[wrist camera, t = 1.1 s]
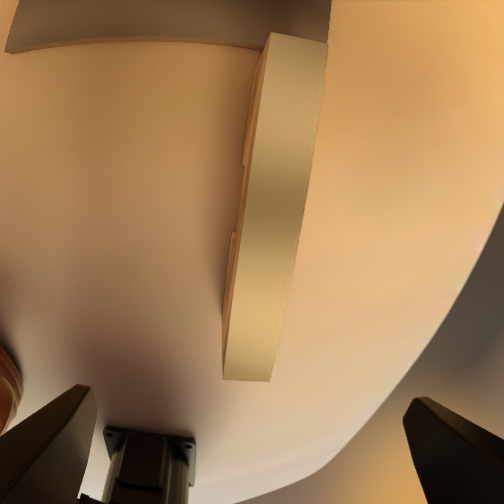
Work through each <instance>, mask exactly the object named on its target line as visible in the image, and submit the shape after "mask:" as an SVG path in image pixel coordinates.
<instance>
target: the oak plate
mask: <svg viewBox="0 0 504 504" xmlns="http://www.w3.org/2000/svg"><path fill="white" fill-rule="evenodd" d="M327 52H328V44H324V43H320V42H316V41H312V40H308V39H303V38H299V37H294V36H289V35H284V34H279V33H273V32H271V33H270V36H269V38H268V40H267V42H266V45H265V47H264V49H263V52H262V54H261V56H260V59H259V61H258V63H257V66H256V68H255V72H254V79H253V85H252V92H251V98H250V105H249V112H248V119H247V125H246V132H245V139H244V146H243V153H242V160H241V163H242V164H244V165H245V170H244V177H243V184H242V191H241V199H240V206H239V214H238V221H237V229H236V233H235V232H232V235H231V243H230V251H229V259H228V267H227V275H226V284H225V292H224V300H223V309H222V368H223V379H224V380H239V381H259V382H270V378H271V374H272V370H273V365H274V361H275V356H276V352H277V347H278V343H279V338H280V333H281V329H282V324H283V319H284V314H285V309H286V304H287V300H288V295H289V290H290V285H291V279H292V274H293V269H294V264H295V259H296V253H297V248H298V243H299V237H300V232H301V226H302V220H303V215H304V209H305V203H306V197H307V191H308V185H309V179H310V173H311V167H312V160H313V154H314V147H315V141H316V134H317V127H318V120H319V113H320V106H321V99H322V91H323V84H324V76H325V68H326V60H327Z"/></svg>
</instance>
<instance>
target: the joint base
mask: <svg viewBox="0 0 504 504" xmlns="http://www.w3.org/2000/svg"><path fill="white" fill-rule="evenodd" d="M331 1H332V0H20V1H19V4H18V7H17V10H16V13H15V16H14V19H13V22H12V25H11V29H10V32H9V36H8V39H7V43H6V47H5V51H4V52H7V53H10V54H16V53H21V52H26V51H32V50H38V49H44V48H50V47H58V46H66V45H75V44H85V43H98V42H116V41H175V42H193V43H207V44H217V45H227V46H235V47H243V48H250V49H257V50H263V49H264V47H265V45H266V42H267V40H268V38H269V36H270V33H271V32H273V33H279V34H284V35H289V36H294V37H299V38H303V39H308V40H312V41H316V42H320V43H324V44H327V39H328V30H329V21H330V11H331Z"/></svg>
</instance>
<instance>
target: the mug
mask: <svg viewBox="0 0 504 504" xmlns="http://www.w3.org/2000/svg"><path fill="white" fill-rule="evenodd" d="M22 396H23V384H22V379H21V376H20V373H19V371H18V369H17V367H16V365H15V363H14V362H13V360H12V358H11V357H10V355H9V354H8V353H7V351H6V350H5V349H4V348H3V346H2V345H1V344H0V436H1V435H3V434H4V433H5V432H6V431H7V429H8V427H9V425H10V424H11V422H12V421H13V420H14V418H15V417H16V414H17V409H18V407H19V404H20V401H21V399H22Z"/></svg>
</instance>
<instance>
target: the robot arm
mask: <svg viewBox="0 0 504 504" xmlns="http://www.w3.org/2000/svg"><path fill="white" fill-rule="evenodd" d="M96 418H97V406H96V402H95V397H94V392H93V389H92V387H90V386H87V385H82V384H76V385H74V386H73V387H72V388H70V389H69V390H67V391H66V392H64V393H63V394H61V395H60V396H58V397H57V398H56V399H54V400H53V401H51V402H50V403H48V404H47V405H45V406H44V407H42V408H41V409H39V410H38V411H37V412H35V413H34V414H32V415H31V416H29V417H28V418H26V419H25V420H23V421H22V422H20V423H19V424H17V425H16V426H14V427H13V428H12V429H10V430H9V431H7V432H6V433H4V434H3V435H1V436H0V504H188V490H189V487H193V486H194V483H195V457H196V441H195V440H193V439H190V438H182V437H173V436H165V435H158V434H151V433H144V432H138V431H132V430H126V429H121V428H115V427H110V426H106V427H105V428H104V430H103V436H104V440H105V443H106V447H107V451H108V454H109V458H110V461H111V463H110V467H109V471H108V475H107V479H106V483H105V487H104V491H103V495H102V500H101V501H98V500H95V499H93V498H90V496H88V495H86V494H83V493H81V496H80V499H78V498H77V497H78V493H79V490H80V486H81V483H82V480H83V476H84V473H85V470H86V466H87V463H88V458H89V453H90V447H91V442H92V437H93V432H94V427H95V422H96ZM403 426H404V430H405V433H406V437H407V440H408V444H409V448H410V452H411V456H412V460H413V463H414V466H415V469H416V471H417V474H418V477H419V480H420V483H421V485H422V488H423V491H424V494H425V497H426V500H427V503H428V504H504V440H503V439H502V438H500V437H498V436H496V435H494V434H492V433H491V432H488V431H487V430H485V429H483V428H481V427H480V426H478V425H476V424H474V423H472V422H471V421H469V420H467V419H465V418H464V417H462V416H460V415H458V414H456V413H455V412H453V411H451V410H449V409H447V408H446V407H444V406H442V405H441V404H439V403H437V402H435V401H434V400H432V399H430V398H429V397H427V396H422V397H416V398H414V399H413V400H412V401H411V403H410V405H409V407H408V409H407V411H406V413H405V414H404V416H403Z"/></svg>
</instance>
